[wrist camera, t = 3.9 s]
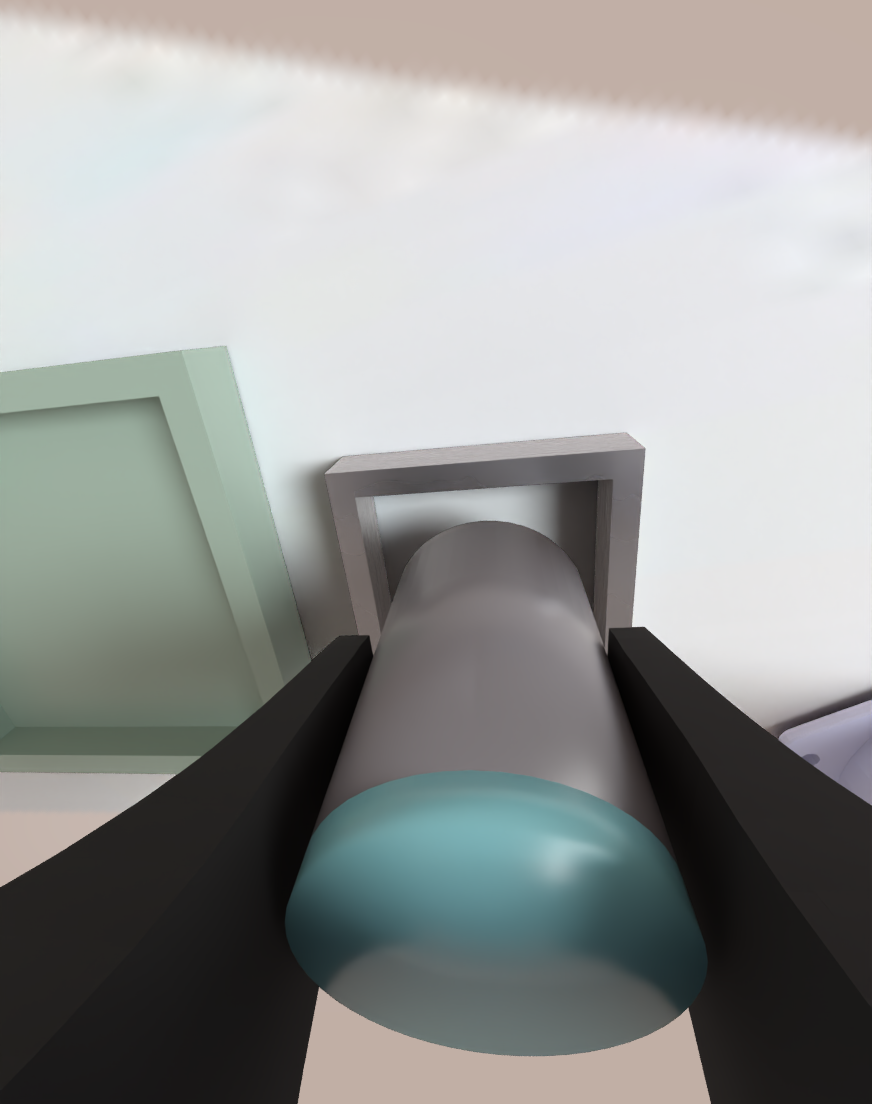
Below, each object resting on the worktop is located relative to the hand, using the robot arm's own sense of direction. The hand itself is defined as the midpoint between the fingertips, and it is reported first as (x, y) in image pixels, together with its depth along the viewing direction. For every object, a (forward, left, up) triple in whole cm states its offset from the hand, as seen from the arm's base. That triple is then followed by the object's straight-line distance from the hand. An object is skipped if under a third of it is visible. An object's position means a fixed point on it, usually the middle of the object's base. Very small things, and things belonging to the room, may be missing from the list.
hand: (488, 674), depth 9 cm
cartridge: (0, 0, -2) cm, 2 cm away
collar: (0, 0, -4) cm, 4 cm away
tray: (+6, +10, -4) cm, 12 cm away
